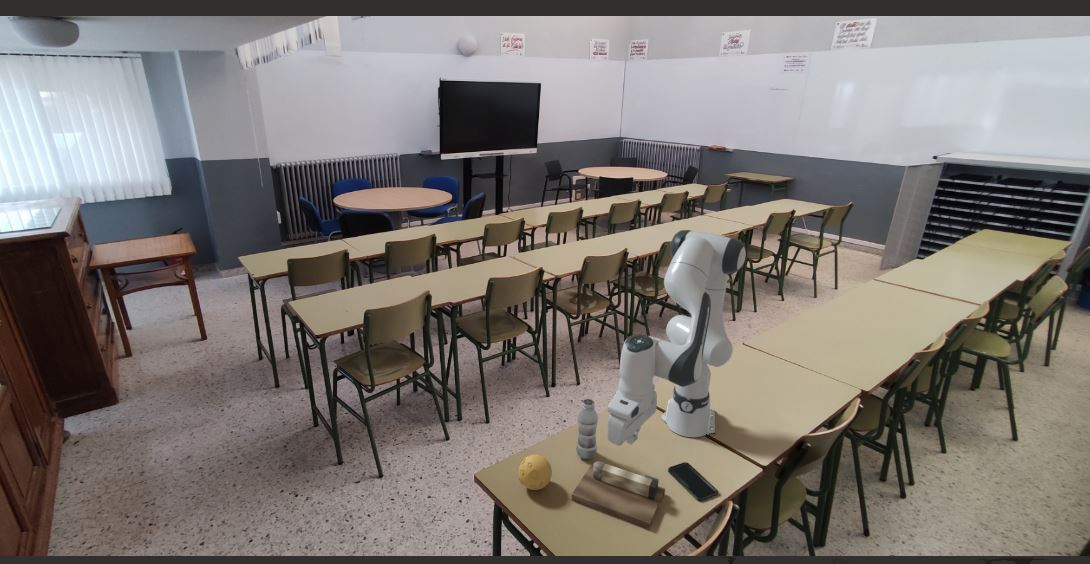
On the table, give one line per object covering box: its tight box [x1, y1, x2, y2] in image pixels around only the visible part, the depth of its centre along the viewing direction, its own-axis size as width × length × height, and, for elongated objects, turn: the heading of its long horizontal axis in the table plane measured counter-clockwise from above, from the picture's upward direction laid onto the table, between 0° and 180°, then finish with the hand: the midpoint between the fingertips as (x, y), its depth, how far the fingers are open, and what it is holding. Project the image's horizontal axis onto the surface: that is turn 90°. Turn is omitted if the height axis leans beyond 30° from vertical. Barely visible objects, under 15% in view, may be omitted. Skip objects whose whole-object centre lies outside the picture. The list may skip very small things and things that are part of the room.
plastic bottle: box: [575, 398, 599, 460], centre depth 165 cm, size 6×7×20 cm
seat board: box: [570, 463, 666, 530], centre depth 150 cm, size 15×23×5 cm, turn 62°
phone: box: [667, 461, 719, 502], centre depth 157 cm, size 8×1×15 cm
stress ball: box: [517, 453, 553, 491], centre depth 153 cm, size 10×10×10 cm
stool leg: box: [593, 461, 659, 500], centre depth 152 cm, size 19×3×4 cm, turn 62°
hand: (631, 441), depth 139 cm, fingers closed
